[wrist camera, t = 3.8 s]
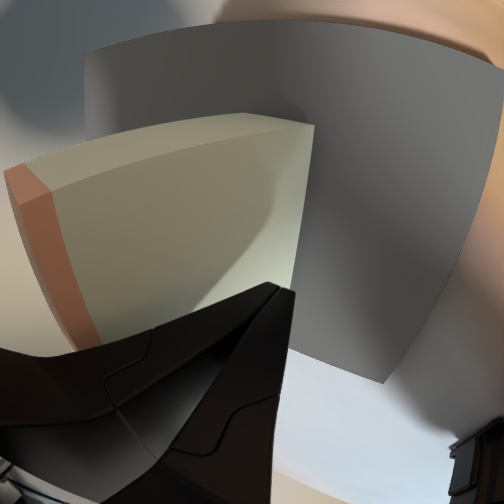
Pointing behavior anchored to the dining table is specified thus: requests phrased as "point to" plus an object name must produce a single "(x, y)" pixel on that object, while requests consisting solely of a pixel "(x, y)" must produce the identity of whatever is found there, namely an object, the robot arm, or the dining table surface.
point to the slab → (161, 220)
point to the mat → (335, 158)
